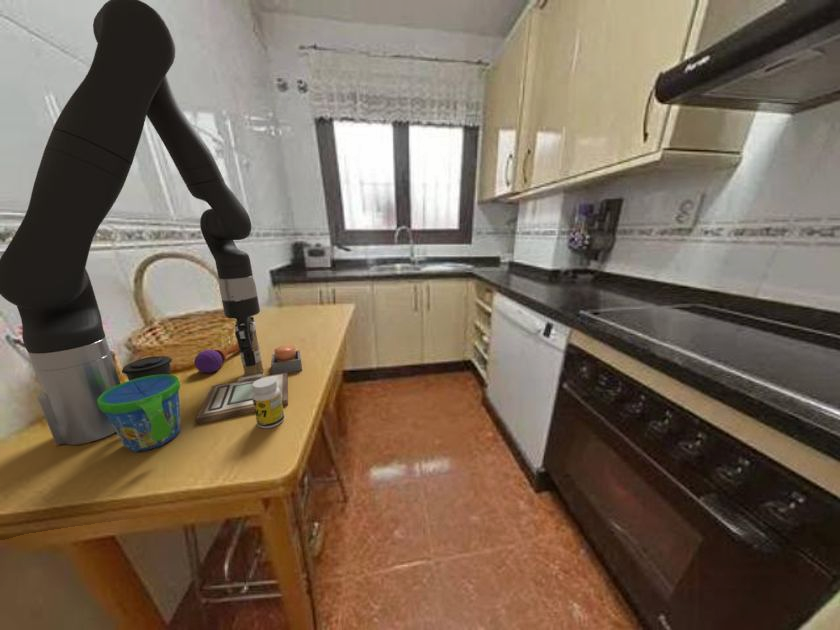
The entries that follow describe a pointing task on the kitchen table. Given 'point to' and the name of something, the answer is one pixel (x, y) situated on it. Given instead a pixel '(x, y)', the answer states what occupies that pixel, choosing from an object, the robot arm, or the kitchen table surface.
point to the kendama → (212, 359)
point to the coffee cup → (148, 367)
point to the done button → (285, 353)
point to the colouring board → (236, 398)
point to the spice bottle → (258, 366)
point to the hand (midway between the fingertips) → (251, 361)
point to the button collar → (286, 365)
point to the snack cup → (144, 410)
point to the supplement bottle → (267, 403)
